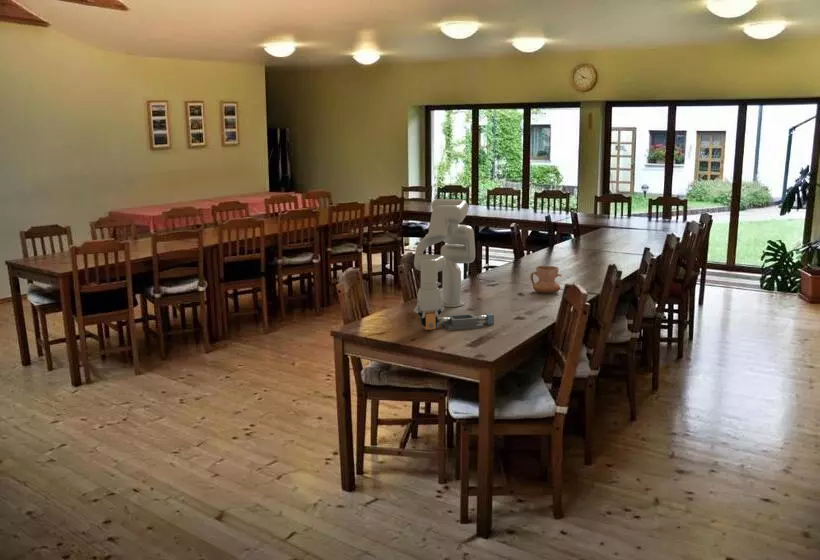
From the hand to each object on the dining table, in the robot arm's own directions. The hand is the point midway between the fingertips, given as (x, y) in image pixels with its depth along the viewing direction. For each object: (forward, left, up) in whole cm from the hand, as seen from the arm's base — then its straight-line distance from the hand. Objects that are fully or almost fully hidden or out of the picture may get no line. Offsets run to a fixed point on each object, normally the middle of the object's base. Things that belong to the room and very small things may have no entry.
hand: (429, 324), depth 320 cm
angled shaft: (-5, +7, -3) cm, 10 cm away
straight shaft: (-4, +27, -3) cm, 27 cm away
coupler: (0, 0, -1) cm, 1 cm away
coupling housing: (-4, +17, -3) cm, 17 cm away
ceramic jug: (-55, +83, -3) cm, 99 cm away
